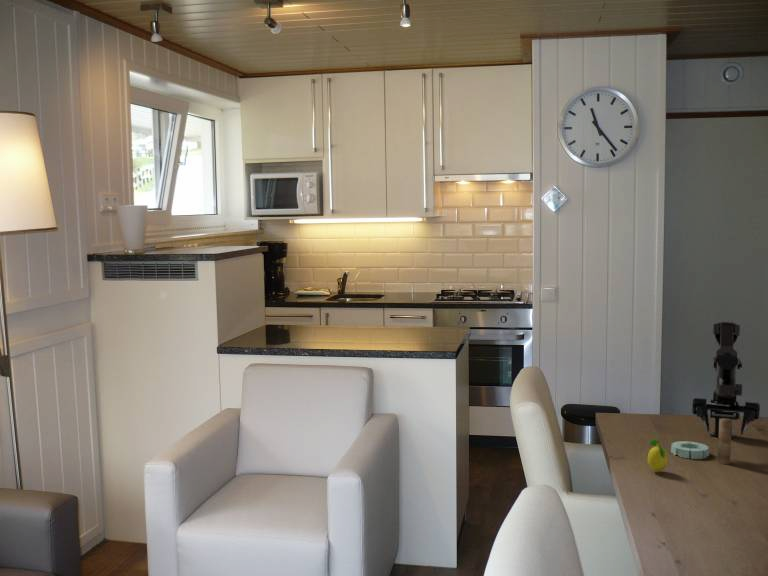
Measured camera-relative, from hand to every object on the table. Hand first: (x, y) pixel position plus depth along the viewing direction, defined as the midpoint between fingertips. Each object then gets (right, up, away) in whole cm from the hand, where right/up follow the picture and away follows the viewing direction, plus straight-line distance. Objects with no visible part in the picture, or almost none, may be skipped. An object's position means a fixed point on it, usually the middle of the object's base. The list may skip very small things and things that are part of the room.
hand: (724, 432), depth 246 cm
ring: (-7, -8, +9) cm, 14 cm away
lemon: (-23, -10, -9) cm, 27 cm away
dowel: (0, -9, 0) cm, 9 cm away
